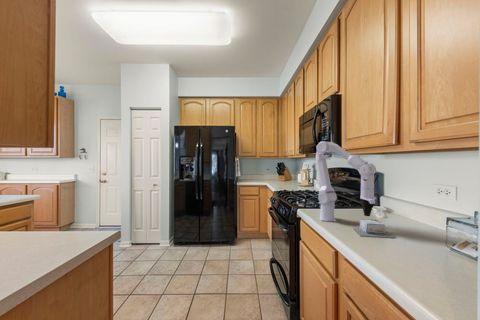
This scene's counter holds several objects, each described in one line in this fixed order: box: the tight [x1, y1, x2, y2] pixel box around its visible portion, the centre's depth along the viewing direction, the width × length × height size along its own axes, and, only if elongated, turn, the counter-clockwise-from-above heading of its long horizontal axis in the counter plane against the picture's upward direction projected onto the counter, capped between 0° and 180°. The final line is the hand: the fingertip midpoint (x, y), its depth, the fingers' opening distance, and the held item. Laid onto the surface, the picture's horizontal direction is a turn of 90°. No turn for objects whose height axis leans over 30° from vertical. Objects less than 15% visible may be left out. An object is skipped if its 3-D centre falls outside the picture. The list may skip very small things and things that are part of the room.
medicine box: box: [359, 219, 386, 234], centre depth 110 cm, size 8×4×9 cm
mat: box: [352, 227, 396, 239], centre depth 108 cm, size 11×14×1 cm
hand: (367, 215), depth 115 cm, fingers closed
